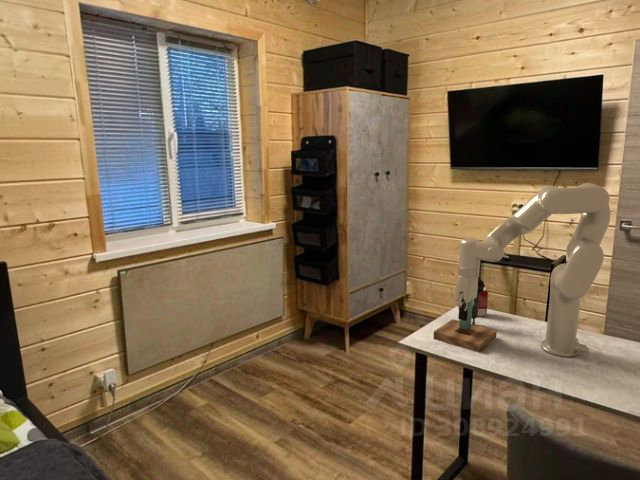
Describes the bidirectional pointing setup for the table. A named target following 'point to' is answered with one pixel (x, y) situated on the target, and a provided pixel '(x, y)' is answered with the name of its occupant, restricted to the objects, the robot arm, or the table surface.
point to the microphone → (477, 300)
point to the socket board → (465, 335)
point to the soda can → (483, 303)
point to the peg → (467, 323)
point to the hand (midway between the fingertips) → (465, 317)
